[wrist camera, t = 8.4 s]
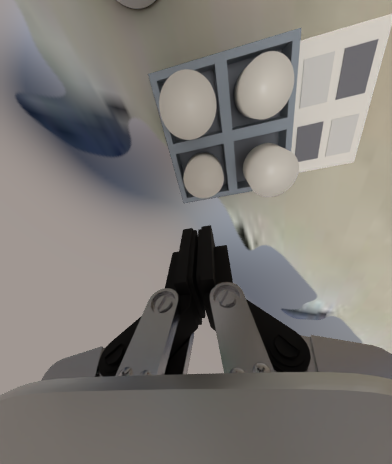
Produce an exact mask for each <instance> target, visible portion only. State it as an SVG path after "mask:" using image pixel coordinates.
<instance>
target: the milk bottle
mask: <svg viewBox="0 0 392 464" xmlns="http://www.w3.org/2000/svg"><path fill="white" fill-rule="evenodd" d="M117 1H118V2H119V3H121V4H122V5H124V6H127V7H129V8H134V9H140V8H144V7H147V6H149V5H151V4H152V3H153V2H155V1H156V0H117Z"/></svg>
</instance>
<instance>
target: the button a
mask: <svg viewBox="0 0 392 464" xmlns="http://www.w3.org/2000/svg"><path fill="white" fill-rule="evenodd" d="M159 110H160V115H161V118H162V120H163V123H164V124H165V126H166V128H167V129H168V130H169V131H170V132H171V133H172V134H173V135H175V136H176V137H178V138H181V139H185V140H192V139H196V138H199V137H201V136H202V135H204V134H205V133H206V132H207V131H208V130H209V128H210V127H211V125H212V123H213V121H214V118H215V114H216V97H215V93H214V90H213V88H212V86H211V84H210V82H209V81H208V80H207V79H206V78H205V77H204V76H203V75H202V74H201V73H199V72H197V71H194V70H190V69H184V70H180V71H177V72H175V73H174V74H172V75H171V76H170V77H169V78H168V79H167V80H166V82H165V83H164V85H163V87H162V90H161V93H160V98H159Z"/></svg>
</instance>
